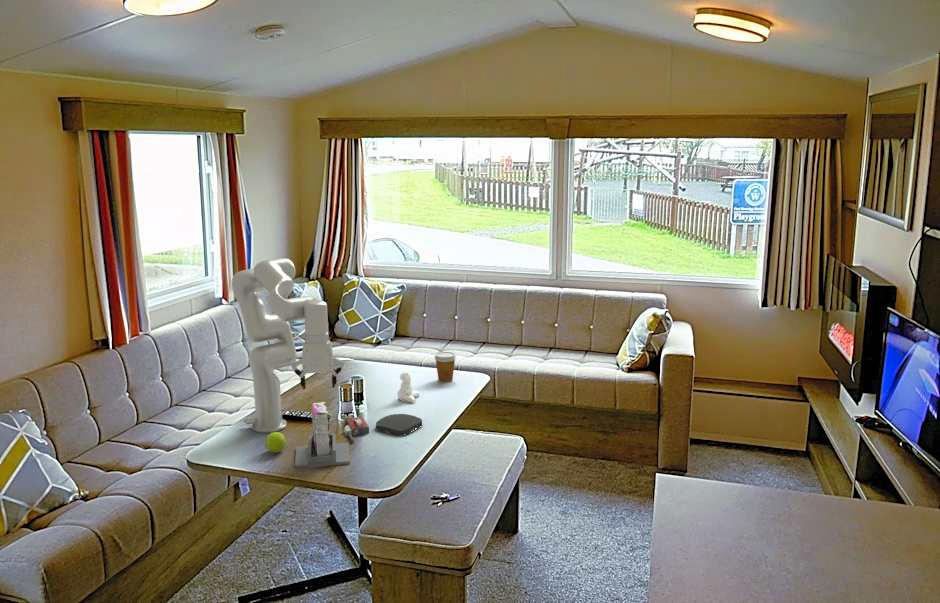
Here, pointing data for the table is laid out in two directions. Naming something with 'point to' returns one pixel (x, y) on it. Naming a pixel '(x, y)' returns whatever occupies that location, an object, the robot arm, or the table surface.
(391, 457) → the table surface
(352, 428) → the walkie-talkie
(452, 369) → the disposable coffee cup
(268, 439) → the tennis ball
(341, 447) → the dock
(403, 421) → the media streaming box
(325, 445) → the candy bar box
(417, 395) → the sitting furry creature
